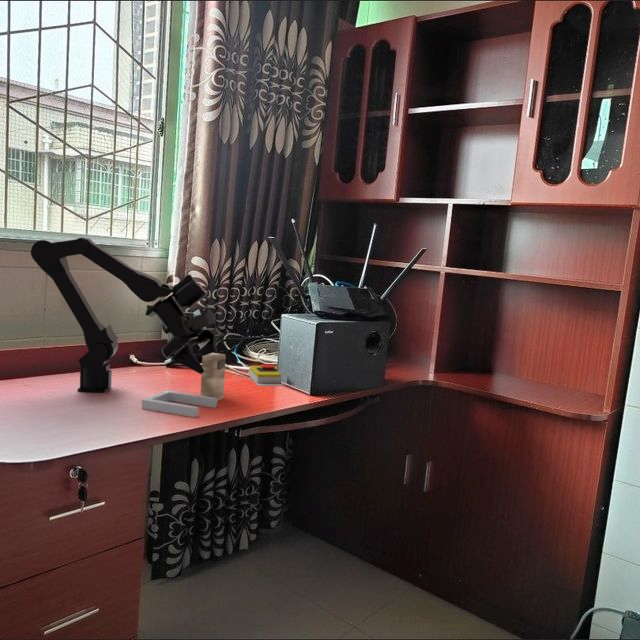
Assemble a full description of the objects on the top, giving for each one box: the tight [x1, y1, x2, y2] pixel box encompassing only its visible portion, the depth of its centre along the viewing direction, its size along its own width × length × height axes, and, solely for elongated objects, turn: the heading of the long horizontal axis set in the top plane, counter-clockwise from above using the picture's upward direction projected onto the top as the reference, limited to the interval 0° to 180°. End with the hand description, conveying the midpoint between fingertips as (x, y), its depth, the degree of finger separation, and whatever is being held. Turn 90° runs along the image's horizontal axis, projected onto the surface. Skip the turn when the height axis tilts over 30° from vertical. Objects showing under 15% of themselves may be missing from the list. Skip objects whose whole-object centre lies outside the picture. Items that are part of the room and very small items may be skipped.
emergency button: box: [248, 363, 286, 387], centre depth 176 cm, size 9×4×15 cm
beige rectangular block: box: [200, 352, 227, 402], centre depth 151 cm, size 4×6×11 cm
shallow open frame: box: [141, 390, 218, 418], centre depth 142 cm, size 14×10×2 cm
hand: (212, 369), depth 150 cm, fingers open, 9 cm apart
